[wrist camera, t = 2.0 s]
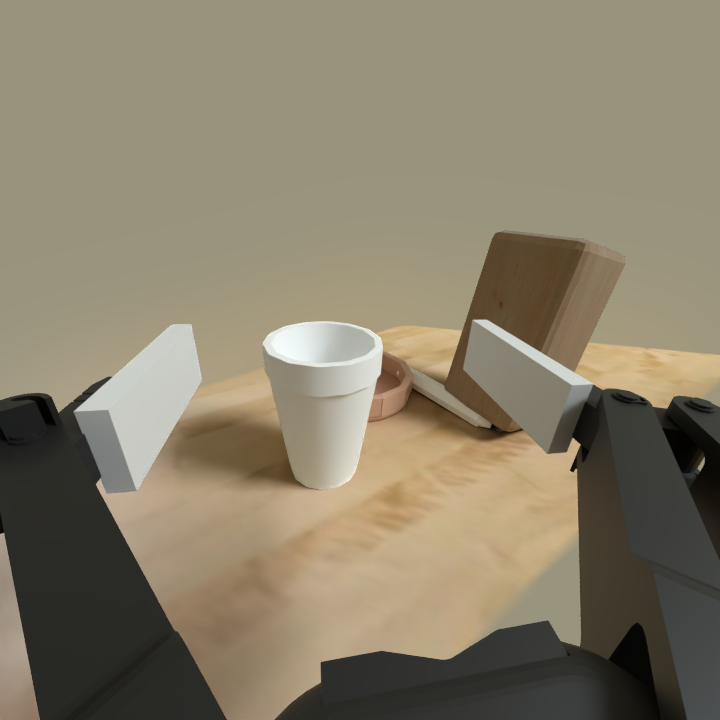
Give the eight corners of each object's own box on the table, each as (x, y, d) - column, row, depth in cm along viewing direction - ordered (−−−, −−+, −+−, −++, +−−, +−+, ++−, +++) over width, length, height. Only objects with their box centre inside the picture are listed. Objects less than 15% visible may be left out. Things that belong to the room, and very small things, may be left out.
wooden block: (439, 392, 41) (491, 227, 34) (486, 385, 47) (540, 243, 40) (506, 437, 34) (590, 238, 27) (553, 423, 39) (633, 255, 32)
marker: (497, 444, 36) (397, 381, 47) (508, 432, 37) (407, 373, 48) (499, 430, 35) (395, 368, 45) (510, 418, 36) (405, 360, 46)
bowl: (300, 426, 36) (299, 402, 35) (300, 367, 49) (300, 348, 48) (424, 419, 39) (427, 396, 37) (393, 365, 52) (395, 346, 50)
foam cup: (360, 429, 36) (366, 320, 31) (385, 493, 28) (400, 361, 23) (273, 439, 34) (263, 323, 29) (274, 512, 26) (260, 371, 20)
